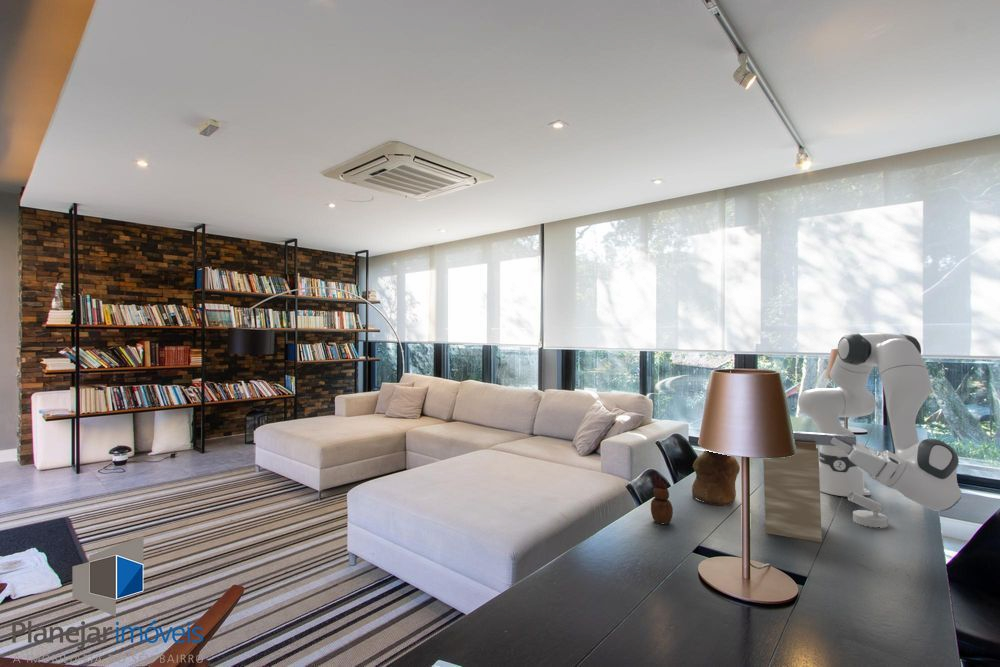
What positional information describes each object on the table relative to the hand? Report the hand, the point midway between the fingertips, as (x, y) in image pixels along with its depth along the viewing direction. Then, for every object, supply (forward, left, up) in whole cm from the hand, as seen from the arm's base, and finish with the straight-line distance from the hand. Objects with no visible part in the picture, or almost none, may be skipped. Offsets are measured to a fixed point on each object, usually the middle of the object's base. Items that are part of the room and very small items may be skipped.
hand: (830, 438), depth 138 cm
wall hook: (-20, +10, -29) cm, 37 cm away
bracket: (0, -4, -2) cm, 5 cm away
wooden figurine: (+10, -46, -29) cm, 56 cm away
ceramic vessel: (-19, -33, -29) cm, 48 cm away
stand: (-3, -10, -29) cm, 31 cm away
